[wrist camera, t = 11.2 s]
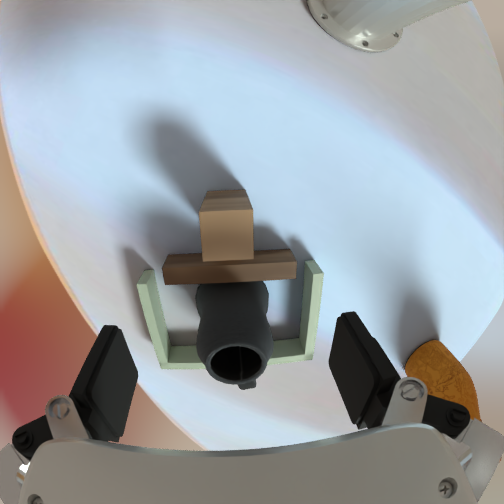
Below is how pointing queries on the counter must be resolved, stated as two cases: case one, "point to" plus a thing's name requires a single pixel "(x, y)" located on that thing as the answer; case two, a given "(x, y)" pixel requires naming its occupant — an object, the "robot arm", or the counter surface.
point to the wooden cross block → (228, 247)
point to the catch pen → (282, 348)
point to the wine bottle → (443, 376)
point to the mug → (234, 331)
